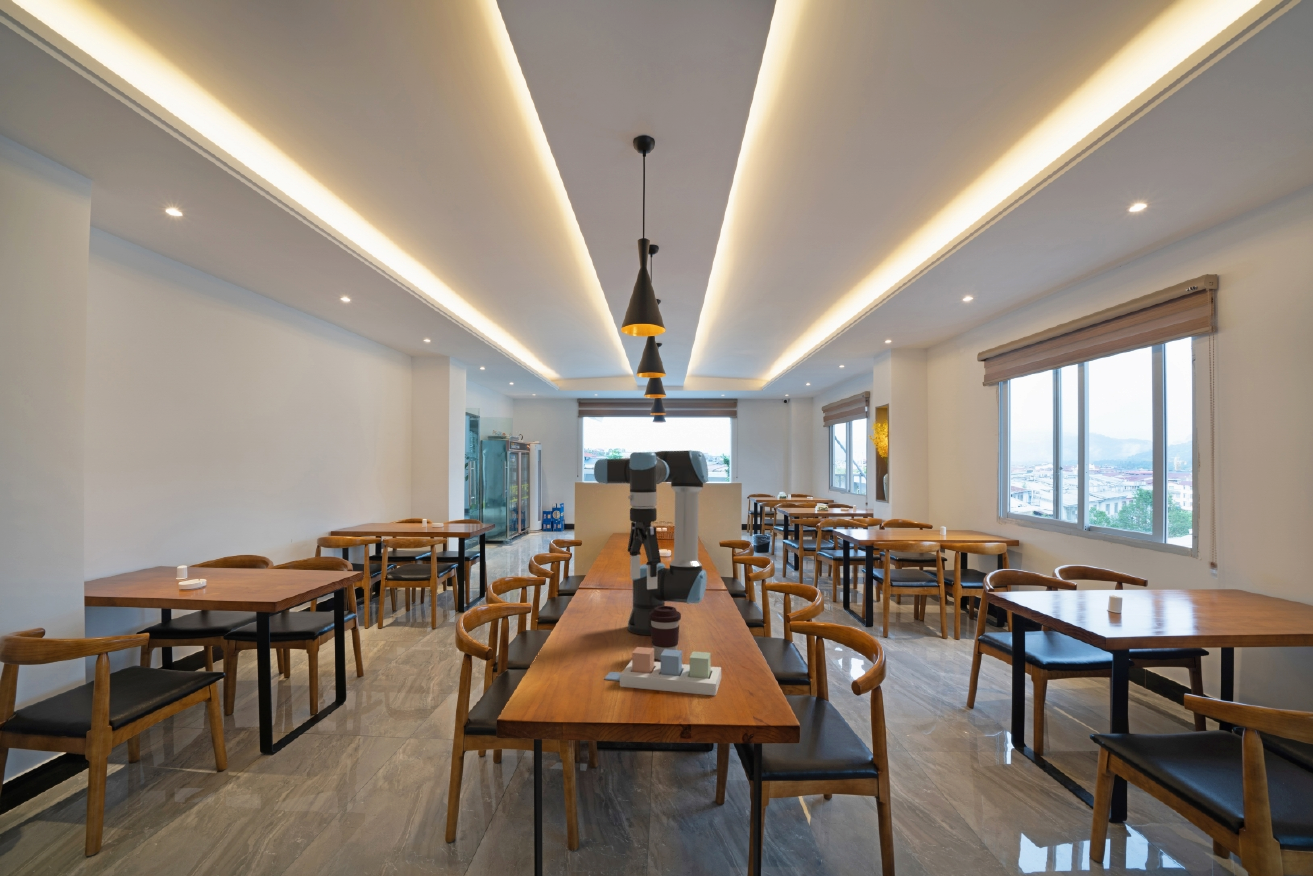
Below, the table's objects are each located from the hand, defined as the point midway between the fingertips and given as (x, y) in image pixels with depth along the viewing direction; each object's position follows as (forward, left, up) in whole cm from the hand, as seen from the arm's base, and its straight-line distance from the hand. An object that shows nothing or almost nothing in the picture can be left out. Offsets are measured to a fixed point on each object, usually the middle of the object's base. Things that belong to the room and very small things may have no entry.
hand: (643, 583), depth 157 cm
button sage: (-1, +16, -24) cm, 29 cm away
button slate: (-1, +8, -24) cm, 25 cm away
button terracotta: (-1, 0, -24) cm, 24 cm away
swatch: (-1, -8, -27) cm, 28 cm away
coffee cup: (-20, +2, -27) cm, 33 cm away
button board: (-1, +8, -27) cm, 28 cm away
